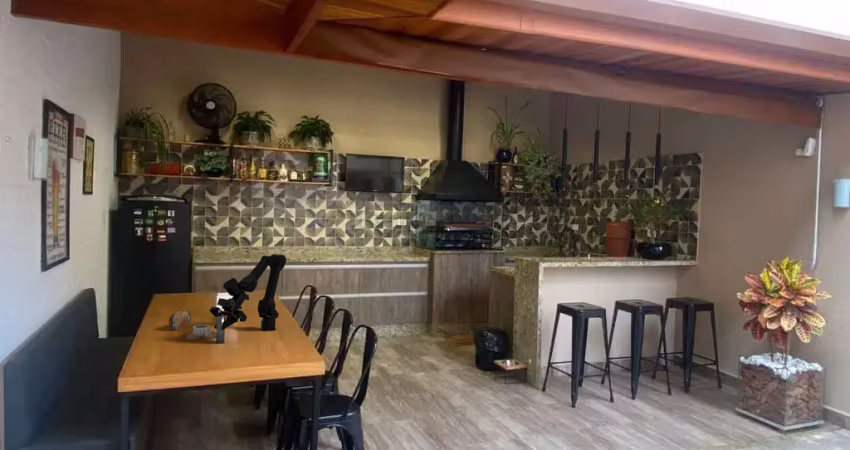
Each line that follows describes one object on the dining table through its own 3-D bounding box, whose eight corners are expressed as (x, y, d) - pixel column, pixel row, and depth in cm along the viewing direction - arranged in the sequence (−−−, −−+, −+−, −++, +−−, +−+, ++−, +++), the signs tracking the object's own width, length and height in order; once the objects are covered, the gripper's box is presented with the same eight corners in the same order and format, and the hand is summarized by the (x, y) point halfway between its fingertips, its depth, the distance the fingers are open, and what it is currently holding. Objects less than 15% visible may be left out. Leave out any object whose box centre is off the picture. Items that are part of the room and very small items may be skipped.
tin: (172, 331, 276) (173, 314, 276) (167, 330, 276) (167, 314, 276) (191, 325, 291) (191, 309, 290) (186, 324, 291) (186, 308, 291)
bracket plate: (214, 332, 276) (214, 330, 276) (218, 337, 265) (218, 336, 265) (183, 335, 269) (183, 333, 269) (187, 340, 258) (187, 338, 258)
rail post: (223, 341, 259) (224, 315, 258) (225, 343, 256) (225, 316, 255) (215, 342, 257) (216, 315, 257) (216, 344, 254) (217, 317, 253)
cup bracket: (208, 332, 272) (208, 324, 272) (210, 335, 266) (210, 327, 266) (191, 333, 268) (192, 325, 268) (194, 337, 262) (194, 328, 262)
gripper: (212, 289, 263) (193, 316, 253) (243, 293, 255) (224, 321, 246) (224, 303, 271) (206, 330, 261) (254, 307, 263) (237, 335, 253)
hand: (218, 329), depth 255 cm, fingers closed on rail post, 4 cm apart
